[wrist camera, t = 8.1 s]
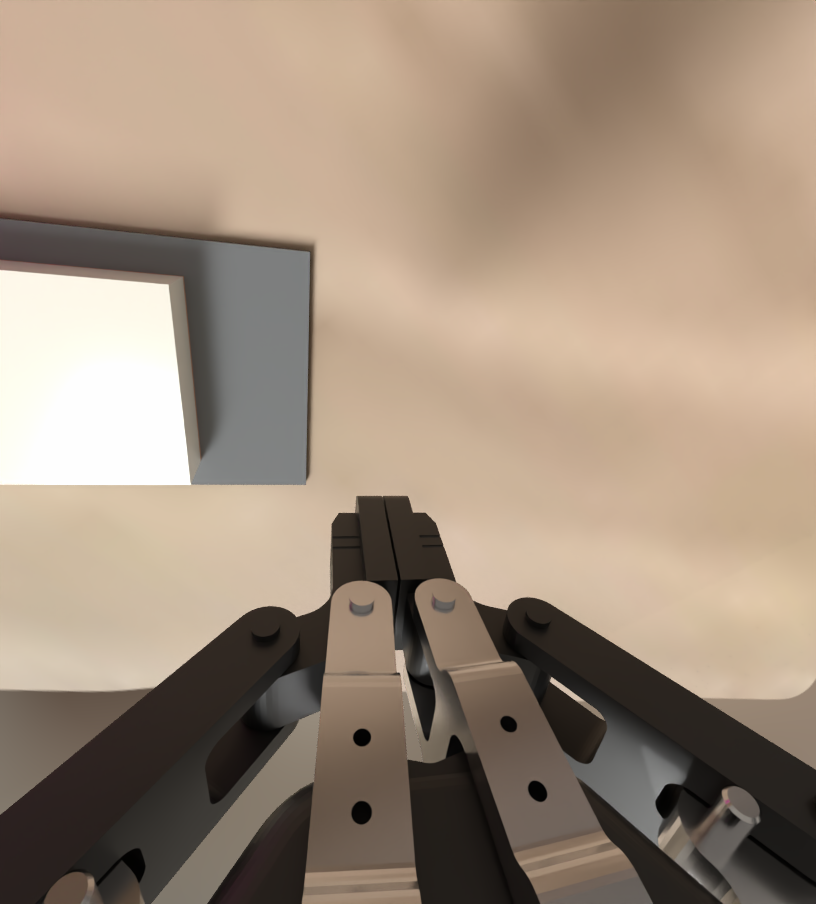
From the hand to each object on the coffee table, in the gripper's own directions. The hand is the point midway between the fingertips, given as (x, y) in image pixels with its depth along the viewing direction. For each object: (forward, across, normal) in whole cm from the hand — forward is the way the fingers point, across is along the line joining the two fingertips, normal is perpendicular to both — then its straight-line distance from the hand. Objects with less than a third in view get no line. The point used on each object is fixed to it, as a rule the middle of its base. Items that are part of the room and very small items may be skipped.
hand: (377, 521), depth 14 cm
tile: (+10, +8, 0) cm, 13 cm away
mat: (+12, +9, 0) cm, 15 cm away
